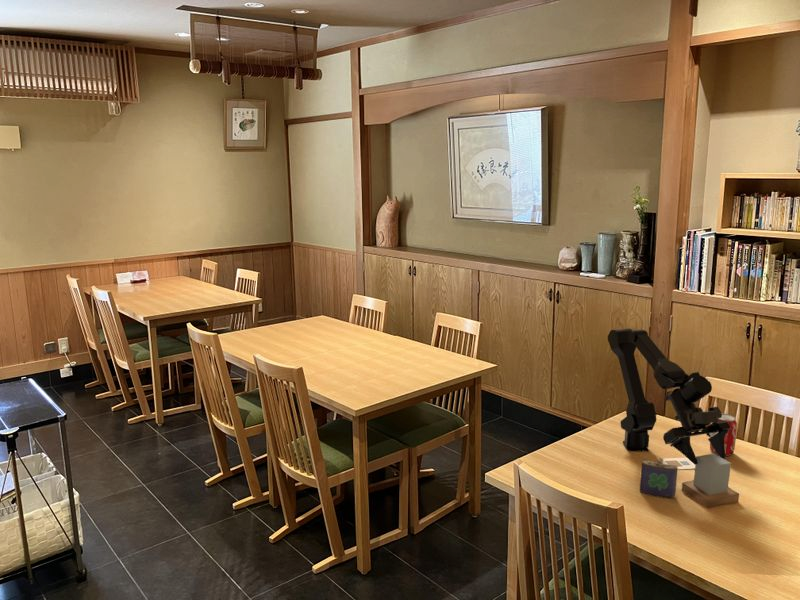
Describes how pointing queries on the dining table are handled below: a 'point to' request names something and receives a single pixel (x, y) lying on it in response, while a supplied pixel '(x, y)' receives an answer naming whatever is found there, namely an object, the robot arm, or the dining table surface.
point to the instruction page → (679, 463)
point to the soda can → (728, 435)
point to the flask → (658, 479)
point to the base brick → (710, 496)
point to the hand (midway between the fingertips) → (710, 461)
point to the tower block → (712, 474)
